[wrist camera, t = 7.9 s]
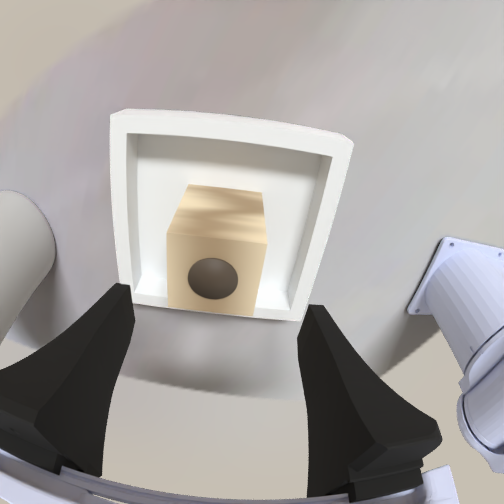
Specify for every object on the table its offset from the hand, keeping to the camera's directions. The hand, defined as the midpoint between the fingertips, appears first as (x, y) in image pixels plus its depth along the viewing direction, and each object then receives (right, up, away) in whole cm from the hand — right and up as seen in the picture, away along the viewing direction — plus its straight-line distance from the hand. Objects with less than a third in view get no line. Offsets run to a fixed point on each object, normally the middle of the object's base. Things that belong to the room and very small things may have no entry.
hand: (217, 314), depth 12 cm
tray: (-1, +5, +8) cm, 9 cm away
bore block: (-1, +5, +8) cm, 9 cm away
